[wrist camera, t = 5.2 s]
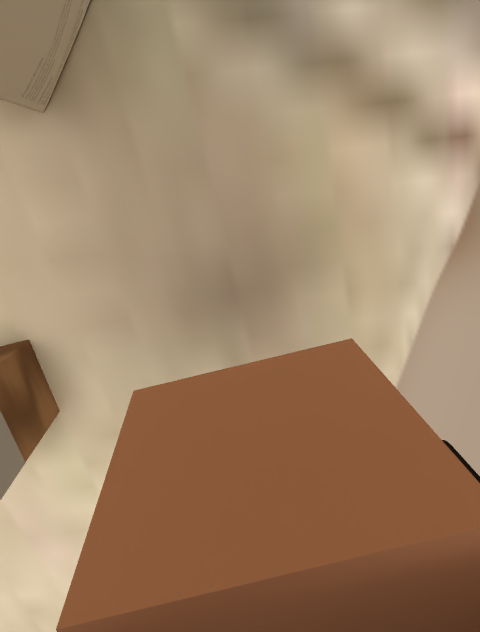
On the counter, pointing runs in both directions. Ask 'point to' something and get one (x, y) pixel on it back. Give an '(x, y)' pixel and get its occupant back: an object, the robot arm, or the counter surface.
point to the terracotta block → (280, 508)
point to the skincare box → (36, 47)
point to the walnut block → (25, 396)
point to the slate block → (8, 457)
